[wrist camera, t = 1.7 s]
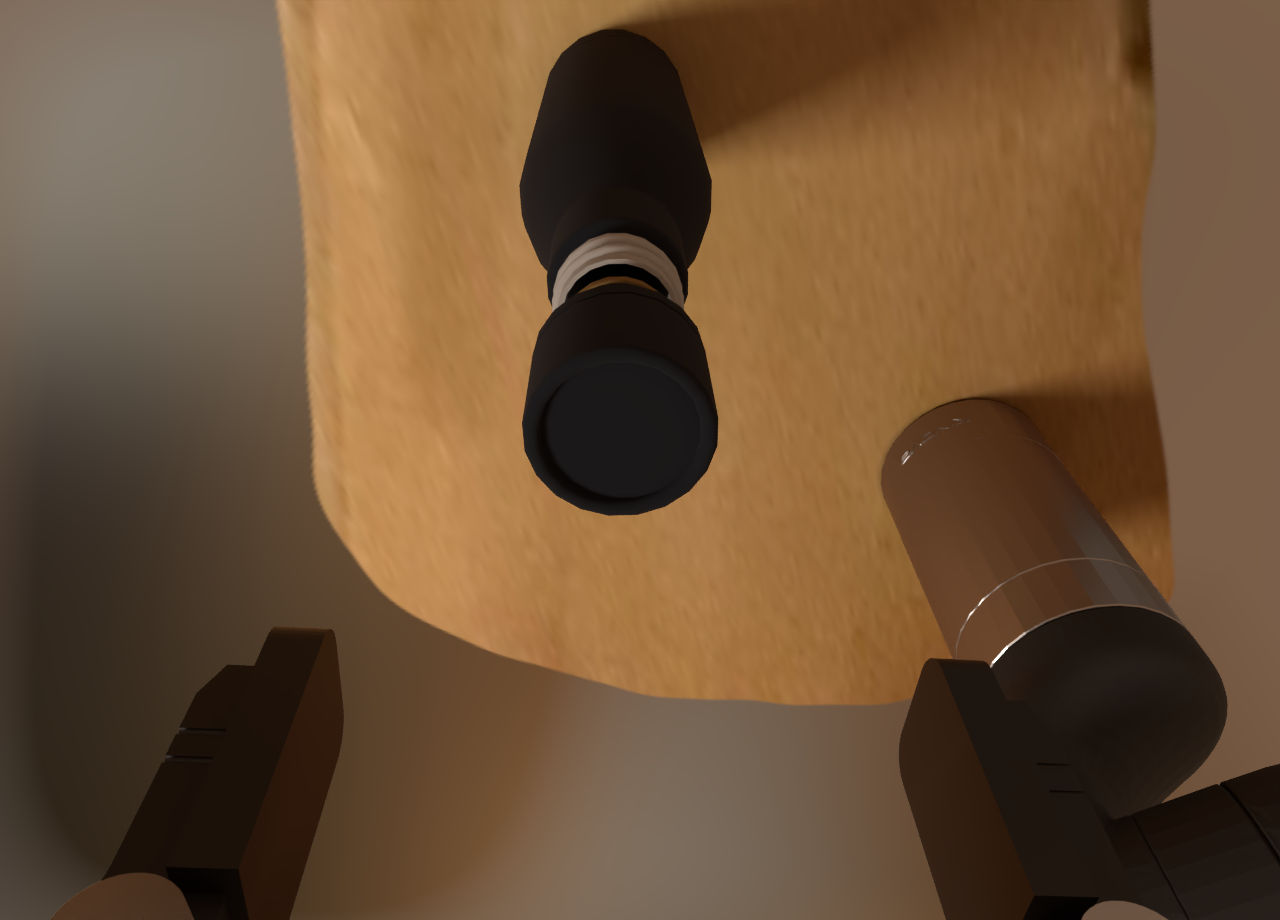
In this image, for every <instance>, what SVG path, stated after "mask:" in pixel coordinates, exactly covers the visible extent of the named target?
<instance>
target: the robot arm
mask: <svg viewBox="0 0 1280 920" xmlns="http://www.w3.org/2000/svg"><path fill="white" fill-rule="evenodd" d="M881 485H882V490H883V495H884V499H885V501H886V503H887V506H888V508H889V510H890V513H891V515H892V517H893V520H894V522H895V524H896V527H897V529H898V531H899V534H900V536H901V539H902V541H903V544H904V546H905V548H906V551H907V553H908V555H909V558H910V560H911V562H912V565H913V567H914V569H915V572H916V574H917V576H918V579H919V581H920V583H921V586H922V588H923V590H924V593H925V595H926V597H927V600H928V602H929V604H930V607H931V609H932V611H933V614H934V616H935V618H936V621H937V623H938V625H939V628H940V630H941V632H942V635H943V637H944V639H945V642H946V644H947V646H948V649H949V651H950V653H951V656H952V658H953V659H935V658H931V659H928V660H927V661H926V662H925V664H924V666H923V669H922V671H921V674H920V678H919V681H918V684H917V687H916V690H915V693H914V696H913V699H912V702H911V706H910V708H909V712H908V715H907V718H906V721H905V724H904V727H903V730H902V733H901V738H900V745H899V765H900V773H901V778H902V781H903V785H904V788H905V791H906V794H907V798H908V801H909V804H910V807H911V810H912V813H913V817H914V820H915V823H916V826H917V829H918V833H919V836H920V839H921V842H922V845H923V848H924V851H925V855H926V858H927V861H928V864H929V867H930V870H931V873H932V877H933V880H934V883H935V886H936V889H937V892H938V895H939V899H940V902H941V905H942V908H943V911H944V915H945V918H946V920H1280V764H1277V765H1274V766H1269V767H1265V768H1262V769H1260V770H1257V771H1254V772H1251V773H1248V774H1245V775H1242V776H1239V777H1236V778H1233V779H1230V780H1227V781H1224V782H1221V783H1220V785H1218V784H1215V785H1212V786H1210V787H1207V788H1204V789H1201V790H1198V791H1195V792H1193V793H1190V794H1187V795H1184V796H1181V797H1178V798H1175V799H1173V800H1170V801H1167V802H1165V803H1162V802H1163V801H1164V800H1165V799H1166V798H1167V797H1168V796H1169V795H1170V794H1171V793H1172V792H1174V791H1175V790H1176V789H1177V788H1178V787H1179V786H1180V785H1181V784H1182V783H1183V782H1184V781H1186V780H1187V779H1188V778H1189V777H1190V776H1191V775H1192V774H1193V773H1194V772H1195V771H1196V770H1197V769H1198V768H1199V767H1200V766H1201V765H1202V764H1203V763H1204V762H1205V760H1206V759H1207V758H1208V757H1209V755H1210V754H1211V752H1212V751H1213V749H1214V748H1215V746H1216V744H1217V743H1218V741H1219V739H1220V736H1221V734H1222V731H1223V728H1224V726H1225V722H1226V717H1227V696H1226V692H1225V688H1224V686H1223V682H1222V679H1221V677H1220V675H1219V673H1218V671H1217V670H1216V668H1215V666H1214V665H1213V663H1212V662H1211V660H1210V659H1209V657H1208V656H1207V655H1206V653H1205V652H1204V651H1203V649H1202V648H1201V647H1200V645H1199V644H1198V643H1197V641H1196V640H1195V639H1194V637H1193V636H1192V635H1191V634H1190V632H1189V631H1188V629H1187V628H1186V627H1185V625H1184V624H1183V623H1182V621H1181V620H1180V619H1179V617H1178V616H1177V615H1176V613H1175V612H1174V611H1173V609H1172V608H1171V607H1170V605H1169V604H1168V603H1167V601H1166V600H1165V599H1164V597H1163V596H1162V595H1161V593H1160V592H1159V591H1158V589H1157V588H1156V587H1155V586H1154V585H1153V583H1152V582H1151V581H1150V579H1149V578H1148V577H1147V575H1146V574H1145V573H1144V571H1143V570H1142V569H1141V567H1140V566H1139V565H1138V563H1137V562H1136V561H1135V559H1134V558H1133V557H1132V555H1131V554H1130V553H1129V551H1128V550H1127V549H1126V547H1125V546H1124V545H1123V543H1122V542H1121V541H1120V539H1119V538H1118V537H1117V535H1116V534H1115V533H1114V531H1113V530H1112V529H1111V527H1110V526H1109V525H1108V523H1107V522H1106V521H1105V519H1104V518H1103V517H1102V515H1101V514H1100V513H1099V511H1098V510H1097V509H1096V507H1095V506H1094V505H1093V503H1092V502H1091V501H1090V499H1089V498H1088V497H1087V495H1086V494H1085V493H1084V491H1083V490H1082V489H1081V487H1080V486H1079V485H1078V483H1077V482H1076V481H1075V479H1074V478H1073V477H1072V475H1071V474H1070V473H1069V471H1068V470H1067V469H1066V467H1065V466H1064V465H1063V463H1062V461H1061V460H1060V459H1059V457H1058V456H1057V455H1056V453H1055V452H1054V451H1053V450H1052V448H1051V447H1050V446H1049V444H1048V443H1047V442H1046V440H1045V439H1044V438H1043V436H1042V435H1041V434H1040V432H1039V431H1038V430H1037V428H1036V427H1035V426H1034V424H1033V423H1032V422H1031V420H1030V419H1029V418H1027V417H1026V416H1025V415H1024V414H1022V413H1021V412H1020V411H1019V410H1017V409H1015V408H1013V407H1011V406H1009V405H1006V404H1004V403H1000V402H995V401H991V400H965V401H959V402H953V403H950V404H947V405H944V406H942V407H939V408H936V409H934V410H932V411H930V412H928V413H927V414H925V415H923V416H921V417H919V418H918V419H917V420H916V421H914V422H913V423H912V424H911V425H909V426H908V427H907V428H906V429H905V430H904V431H903V432H902V433H901V435H900V436H899V437H898V438H897V439H896V440H895V441H894V443H893V445H892V447H891V448H890V450H889V452H888V454H887V456H886V459H885V462H884V465H883V468H882V479H881ZM343 723H344V710H343V701H342V691H341V682H340V674H339V663H338V654H337V645H336V637H335V634H334V631H333V630H332V629H317V628H295V627H274V628H273V629H271V631H270V632H269V634H268V636H267V638H266V641H265V643H264V645H263V647H262V650H261V652H260V654H259V657H258V659H257V661H256V663H255V665H254V666H244V665H227V666H226V667H224V668H223V669H222V670H221V671H220V672H219V673H218V674H217V675H216V676H215V677H214V678H213V679H212V680H210V681H209V682H208V683H207V684H206V685H205V686H204V687H203V688H202V689H201V690H200V691H198V692H197V694H196V695H195V697H194V699H193V701H192V703H191V705H190V707H189V709H188V711H187V713H186V715H185V717H184V719H183V721H182V723H181V725H180V727H179V730H180V731H179V734H176V735H175V737H174V739H173V741H172V743H171V745H170V747H169V750H168V752H167V753H166V759H165V762H164V763H161V766H160V767H159V769H158V771H157V773H156V775H155V778H154V780H153V781H152V783H151V785H150V787H149V789H148V792H147V794H146V796H145V798H144V800H143V802H142V804H141V806H140V808H139V810H138V812H137V814H136V816H135V818H134V820H133V822H132V824H131V826H130V828H129V830H128V832H127V834H126V836H125V838H124V840H123V842H122V844H121V846H120V848H119V850H118V852H117V854H116V856H115V858H114V860H113V862H112V864H111V866H110V867H109V869H108V871H107V873H106V874H105V876H104V877H103V879H102V880H101V881H100V882H97V883H95V884H93V885H91V886H90V887H88V888H86V889H84V890H82V891H81V892H79V893H78V894H77V895H75V896H74V897H72V898H71V899H70V900H69V901H68V902H66V903H65V904H64V905H63V906H62V907H61V908H60V909H59V910H58V911H57V912H56V914H55V915H54V916H53V917H52V918H51V920H289V919H290V915H291V912H292V909H293V905H294V902H295V899H296V896H297V892H298V889H299V886H300V883H301V879H302V875H303V873H304V869H305V866H306V863H307V859H308V856H309V853H310V849H311V846H312V843H313V840H314V836H315V833H316V829H317V827H318V823H319V820H320V817H321V813H322V810H323V806H324V803H325V800H326V797H327V794H328V790H329V787H330V784H331V780H332V777H333V774H334V771H335V767H336V764H337V761H338V757H339V753H340V748H341V742H342V735H343Z"/></svg>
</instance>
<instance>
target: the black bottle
mask: <svg viewBox="0 0 1280 920" xmlns="http://www.w3.org/2000/svg"><path fill="white" fill-rule="evenodd" d="M519 186H520V198H521V210H522V217H523V221H524V225H525V228H526V230H527V233H528V235H529V238H530V240H531V242H532V245H533V247H534V249H535V252H536V254H537V256H538V259H539V261H540V263H541V265H542V266H543V267H544V268H545V269H546V270H547V272H548V273H547V285H548V298H549V300H550V303H551V305H552V310H553V312H552V314H551V315H550V317H549V318H548V320H547V321H546V322H545V324H544V325H543V327H542V328H541V330H540V331H539V334H538V338H537V341H536V345H535V349H534V352H533V357H532V363H531V370H530V376H529V382H528V389H527V395H526V402H525V408H524V415H523V421H522V427H523V438H524V448H525V453H526V455H527V457H528V459H529V461H530V463H531V465H532V467H533V469H534V471H535V473H536V475H537V476H538V477H539V478H540V479H541V481H542V482H543V483H544V484H545V485H546V486H547V487H548V488H549V489H550V490H551V491H552V492H553V493H554V494H555V495H556V496H558V497H560V498H562V499H564V500H565V501H567V502H569V503H571V504H573V505H574V506H576V507H578V508H580V509H583V510H587V511H592V512H596V513H600V514H604V515H609V516H610V515H638V514H642V513H645V512H648V511H652V510H655V509H659V508H662V507H665V506H667V505H668V504H670V503H672V502H673V501H675V500H676V499H678V498H680V497H681V496H683V495H684V494H686V493H688V492H689V491H690V490H691V489H692V488H693V486H694V485H695V484H696V483H697V482H698V481H699V479H700V478H701V477H702V476H703V475H704V474H705V473H706V471H707V470H708V467H709V465H710V462H711V460H712V458H713V455H714V453H715V450H716V448H717V441H718V414H717V409H716V404H715V399H714V394H713V389H712V383H711V378H710V373H709V368H708V363H707V358H706V353H705V349H704V346H703V343H702V340H701V337H700V334H699V331H698V328H697V326H696V325H695V324H694V323H693V321H692V320H691V319H690V317H689V316H688V315H687V314H686V312H685V311H684V304H685V301H686V298H687V295H688V270H687V269H688V268H689V267H690V265H691V264H692V263H693V261H694V260H695V258H696V255H697V253H698V250H699V247H700V245H701V242H702V239H703V236H704V233H705V230H706V228H707V225H708V222H709V217H710V213H711V188H712V180H711V177H710V174H709V170H708V167H707V164H706V160H705V157H704V154H703V151H702V147H701V144H700V141H699V138H698V135H697V132H696V129H695V125H694V122H693V119H692V116H691V113H690V110H689V107H688V103H687V100H686V97H685V94H684V91H683V88H682V85H681V81H680V78H679V75H678V72H677V70H676V68H675V67H674V65H673V64H672V62H671V61H670V59H669V58H668V56H667V55H666V54H665V52H664V51H663V50H662V49H660V48H659V47H658V46H656V45H655V44H654V43H653V42H651V41H650V40H649V39H647V38H646V37H644V36H641V35H638V34H634V33H631V32H628V31H625V30H601V31H598V32H595V33H593V34H590V35H587V36H585V37H582V38H579V39H578V40H577V41H576V42H575V43H573V44H572V45H571V46H570V47H569V48H567V49H566V50H565V51H564V52H563V53H562V54H561V55H560V57H559V59H558V60H557V62H556V63H555V65H554V67H553V68H552V70H551V72H550V74H549V77H548V81H547V84H546V88H545V92H544V95H543V99H542V102H541V106H540V110H539V113H538V117H537V120H536V124H535V127H534V131H533V135H532V138H531V142H530V145H529V149H528V153H527V156H526V160H525V164H524V169H523V173H522V177H521V181H520V185H519Z"/></svg>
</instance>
